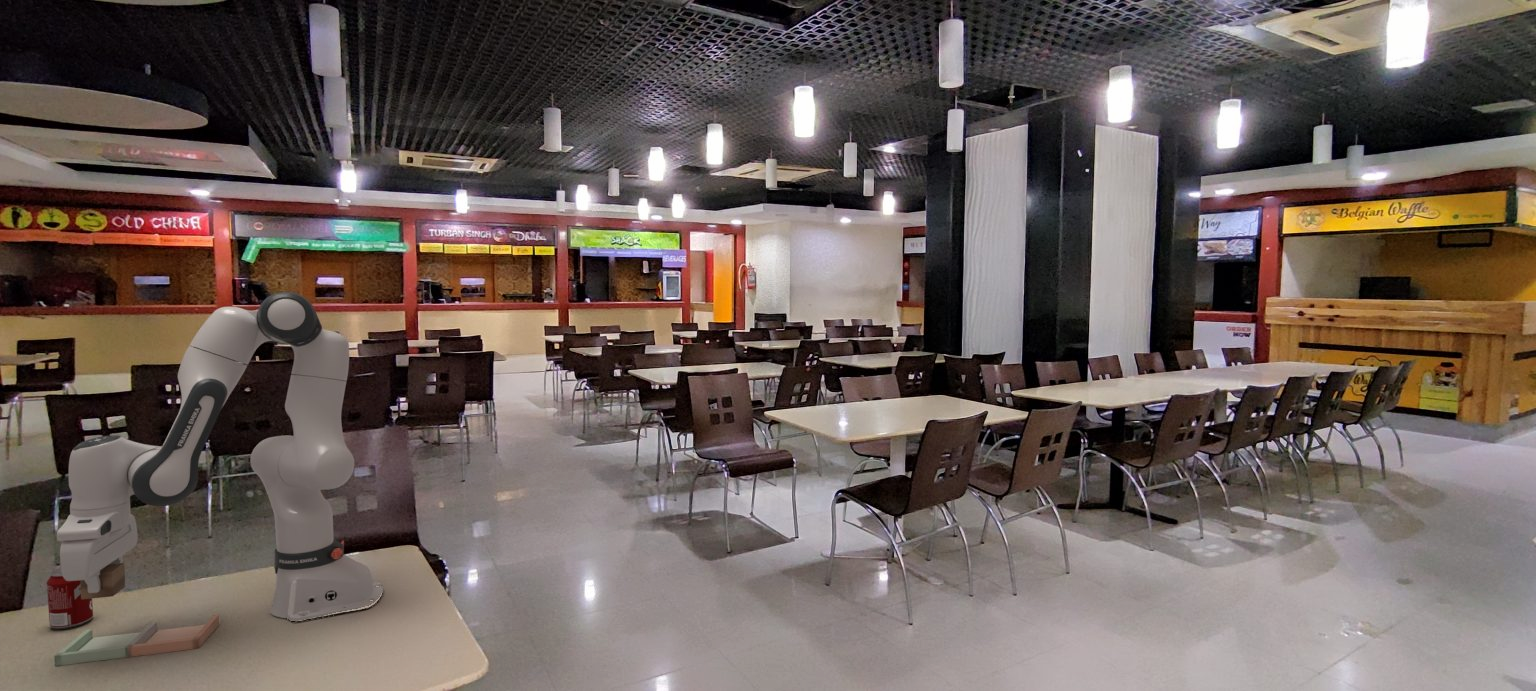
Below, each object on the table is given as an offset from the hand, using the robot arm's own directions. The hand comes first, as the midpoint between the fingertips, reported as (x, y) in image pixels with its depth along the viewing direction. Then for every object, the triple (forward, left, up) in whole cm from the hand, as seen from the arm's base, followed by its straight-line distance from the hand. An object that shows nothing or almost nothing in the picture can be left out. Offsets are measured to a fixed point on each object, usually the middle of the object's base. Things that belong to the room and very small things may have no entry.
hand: (104, 585), depth 145 cm
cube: (0, 0, -2) cm, 2 cm away
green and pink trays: (-6, 0, -13) cm, 14 cm away
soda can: (+12, -14, -13) cm, 23 cm away
